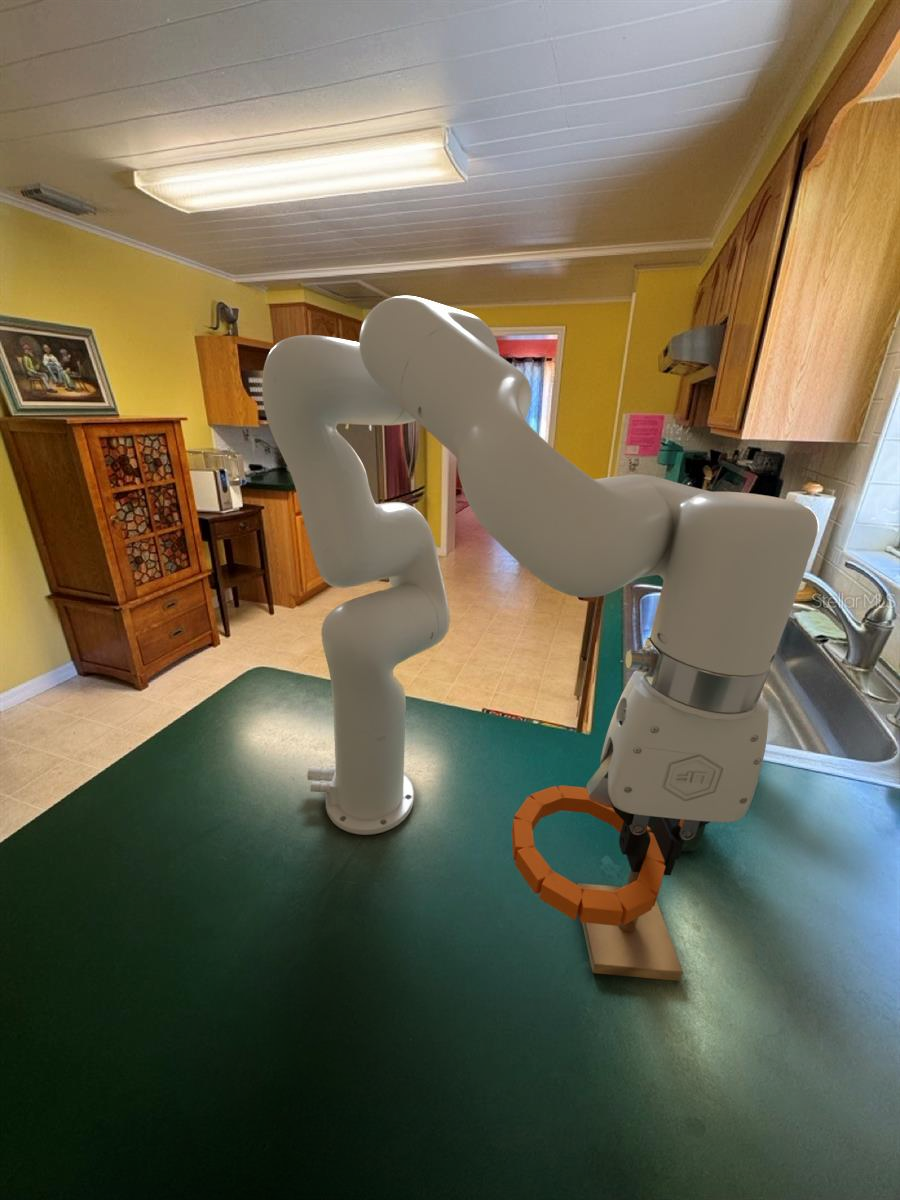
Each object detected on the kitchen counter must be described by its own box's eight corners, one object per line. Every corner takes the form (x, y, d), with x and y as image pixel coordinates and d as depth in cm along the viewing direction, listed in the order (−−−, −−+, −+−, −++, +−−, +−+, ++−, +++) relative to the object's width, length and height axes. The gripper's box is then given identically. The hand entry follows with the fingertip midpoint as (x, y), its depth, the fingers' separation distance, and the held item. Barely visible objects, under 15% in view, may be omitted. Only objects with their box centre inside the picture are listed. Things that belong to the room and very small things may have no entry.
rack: (592, 973, 49) (613, 896, 45) (575, 891, 57) (591, 820, 53) (679, 981, 49) (709, 905, 44) (649, 898, 57) (672, 827, 53)
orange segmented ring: (517, 915, 35) (519, 901, 34) (508, 793, 46) (510, 780, 46) (683, 933, 34) (688, 918, 34) (633, 805, 46) (637, 792, 45)
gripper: (601, 691, 30) (559, 890, 37) (853, 713, 30) (763, 911, 36) (578, 639, 37) (546, 815, 44) (783, 655, 37) (718, 831, 43)
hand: (645, 857), depth 40 cm, fingers closed on orange segmented ring, 1 cm apart
